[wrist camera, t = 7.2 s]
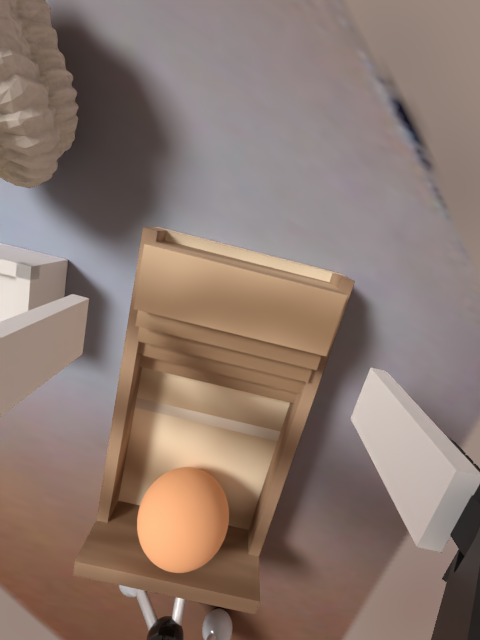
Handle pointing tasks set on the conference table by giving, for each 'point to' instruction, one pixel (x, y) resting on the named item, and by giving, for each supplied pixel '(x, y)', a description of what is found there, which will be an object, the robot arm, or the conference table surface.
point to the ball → (183, 520)
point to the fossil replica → (33, 94)
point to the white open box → (29, 280)
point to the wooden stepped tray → (211, 402)
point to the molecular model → (179, 619)
